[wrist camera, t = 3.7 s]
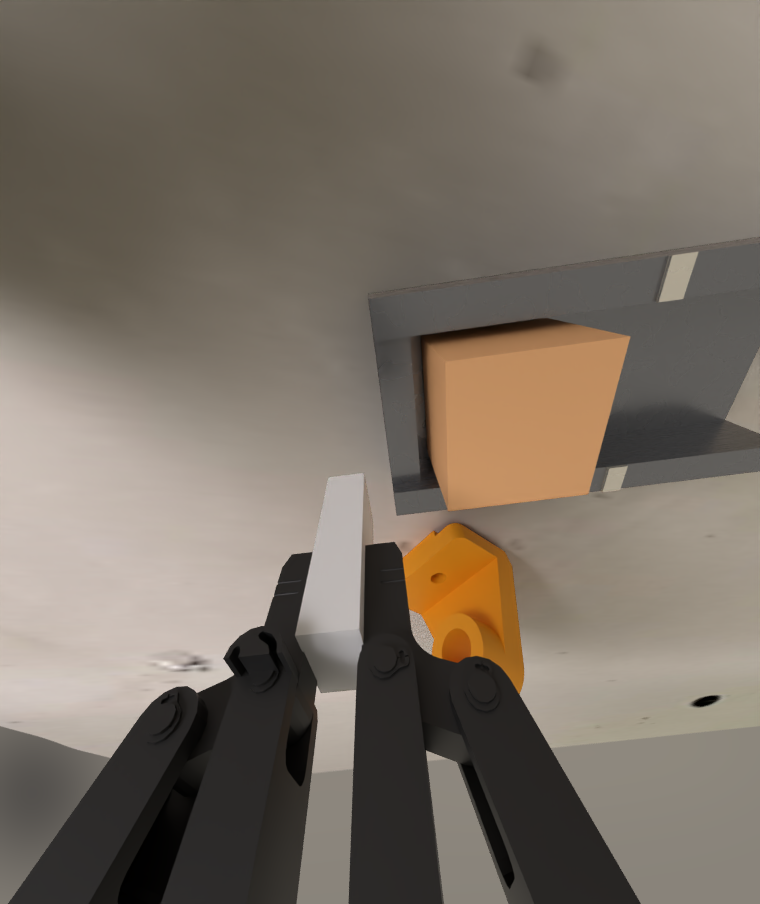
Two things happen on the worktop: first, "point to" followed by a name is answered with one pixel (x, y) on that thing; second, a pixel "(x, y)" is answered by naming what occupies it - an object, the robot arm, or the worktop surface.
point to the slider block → (518, 409)
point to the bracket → (466, 598)
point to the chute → (644, 369)
